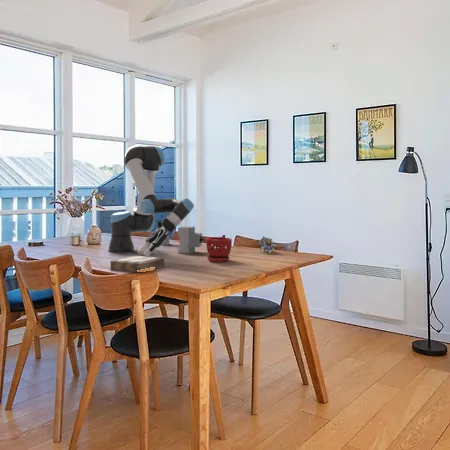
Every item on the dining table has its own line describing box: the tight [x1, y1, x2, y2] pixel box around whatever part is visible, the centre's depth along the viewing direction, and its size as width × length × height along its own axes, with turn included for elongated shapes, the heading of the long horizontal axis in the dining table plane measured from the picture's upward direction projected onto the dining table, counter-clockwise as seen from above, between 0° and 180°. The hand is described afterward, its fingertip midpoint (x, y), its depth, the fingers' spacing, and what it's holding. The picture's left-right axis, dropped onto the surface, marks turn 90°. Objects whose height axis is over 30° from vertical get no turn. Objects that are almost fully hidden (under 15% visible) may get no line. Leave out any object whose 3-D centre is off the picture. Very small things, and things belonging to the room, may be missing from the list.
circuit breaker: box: [177, 225, 205, 254], centre depth 276 cm, size 8×14×15 cm, turn 78°
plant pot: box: [206, 236, 233, 263], centre depth 246 cm, size 13×13×12 cm
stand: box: [110, 255, 165, 272], centre depth 225 cm, size 18×18×4 cm
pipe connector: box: [137, 241, 159, 257], centre depth 243 cm, size 10×10×10 cm
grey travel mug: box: [156, 221, 175, 246], centre depth 314 cm, size 9×14×15 cm, turn 54°
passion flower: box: [256, 235, 277, 255], centre depth 275 cm, size 11×11×12 cm
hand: (142, 254), depth 242 cm, fingers closed on pipe connector, 10 cm apart
